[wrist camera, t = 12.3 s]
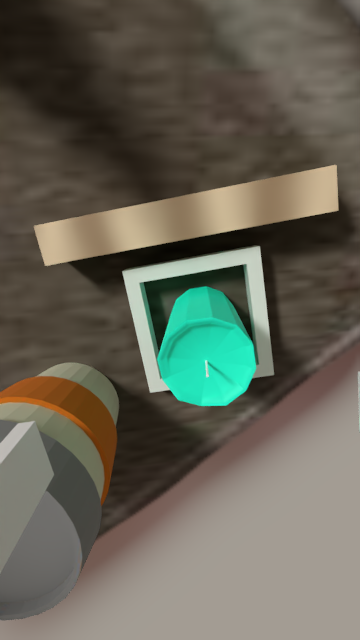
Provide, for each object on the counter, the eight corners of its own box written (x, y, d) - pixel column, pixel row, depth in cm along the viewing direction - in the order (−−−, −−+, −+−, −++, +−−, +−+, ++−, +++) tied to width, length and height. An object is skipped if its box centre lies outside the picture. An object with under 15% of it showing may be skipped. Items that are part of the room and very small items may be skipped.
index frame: (152, 382, 31) (150, 392, 29) (127, 268, 28) (122, 271, 26) (269, 365, 30) (274, 374, 28) (255, 245, 27) (259, 246, 25)
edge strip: (66, 261, 28) (45, 265, 24) (56, 226, 27) (33, 225, 23) (317, 213, 26) (338, 210, 22) (314, 175, 25) (336, 164, 21)
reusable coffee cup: (75, 319, 29) (-43, 404, 15) (162, 411, 31) (134, 562, 17) (-9, 394, 32) (-178, 528, 17) (76, 473, 34) (-11, 650, 20)
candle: (173, 282, 28) (157, 318, 16) (239, 289, 28) (271, 329, 16) (168, 345, 29) (150, 417, 18) (230, 351, 29) (253, 428, 18)
